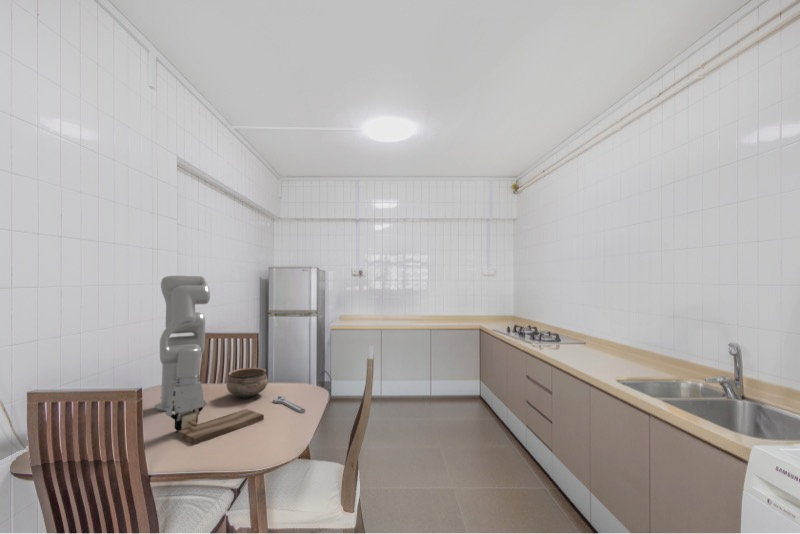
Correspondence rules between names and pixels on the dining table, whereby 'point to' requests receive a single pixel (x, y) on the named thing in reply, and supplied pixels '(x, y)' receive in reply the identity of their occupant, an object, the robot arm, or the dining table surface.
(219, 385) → the dining table surface
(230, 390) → the cooking pot
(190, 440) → the board
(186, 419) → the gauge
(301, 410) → the adjustable wrench
